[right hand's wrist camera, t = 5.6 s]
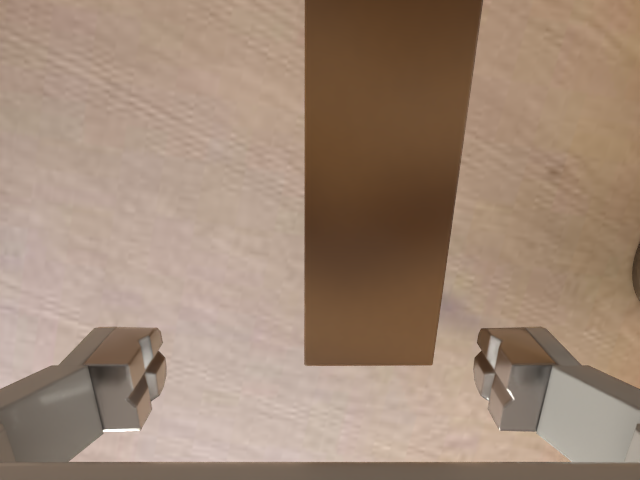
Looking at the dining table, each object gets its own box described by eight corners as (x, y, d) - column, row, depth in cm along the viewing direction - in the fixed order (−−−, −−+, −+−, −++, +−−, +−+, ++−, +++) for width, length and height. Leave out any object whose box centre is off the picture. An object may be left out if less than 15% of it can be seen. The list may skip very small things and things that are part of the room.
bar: (387, 263, 24) (432, 365, 16) (306, 263, 24) (304, 366, 15) (438, -358, 15) (620, -984, 6) (307, -365, 15) (306, -1015, 6)
